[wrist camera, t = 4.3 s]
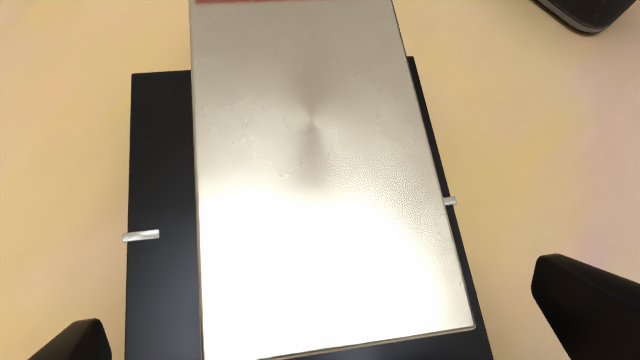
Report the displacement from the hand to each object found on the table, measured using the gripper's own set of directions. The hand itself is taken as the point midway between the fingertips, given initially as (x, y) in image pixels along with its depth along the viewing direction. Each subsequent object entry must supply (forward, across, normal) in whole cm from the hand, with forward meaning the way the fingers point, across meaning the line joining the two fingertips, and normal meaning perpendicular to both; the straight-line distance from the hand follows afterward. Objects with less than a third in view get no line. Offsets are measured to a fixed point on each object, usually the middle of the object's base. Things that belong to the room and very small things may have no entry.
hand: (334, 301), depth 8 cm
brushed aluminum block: (+9, 0, +3) cm, 9 cm away
